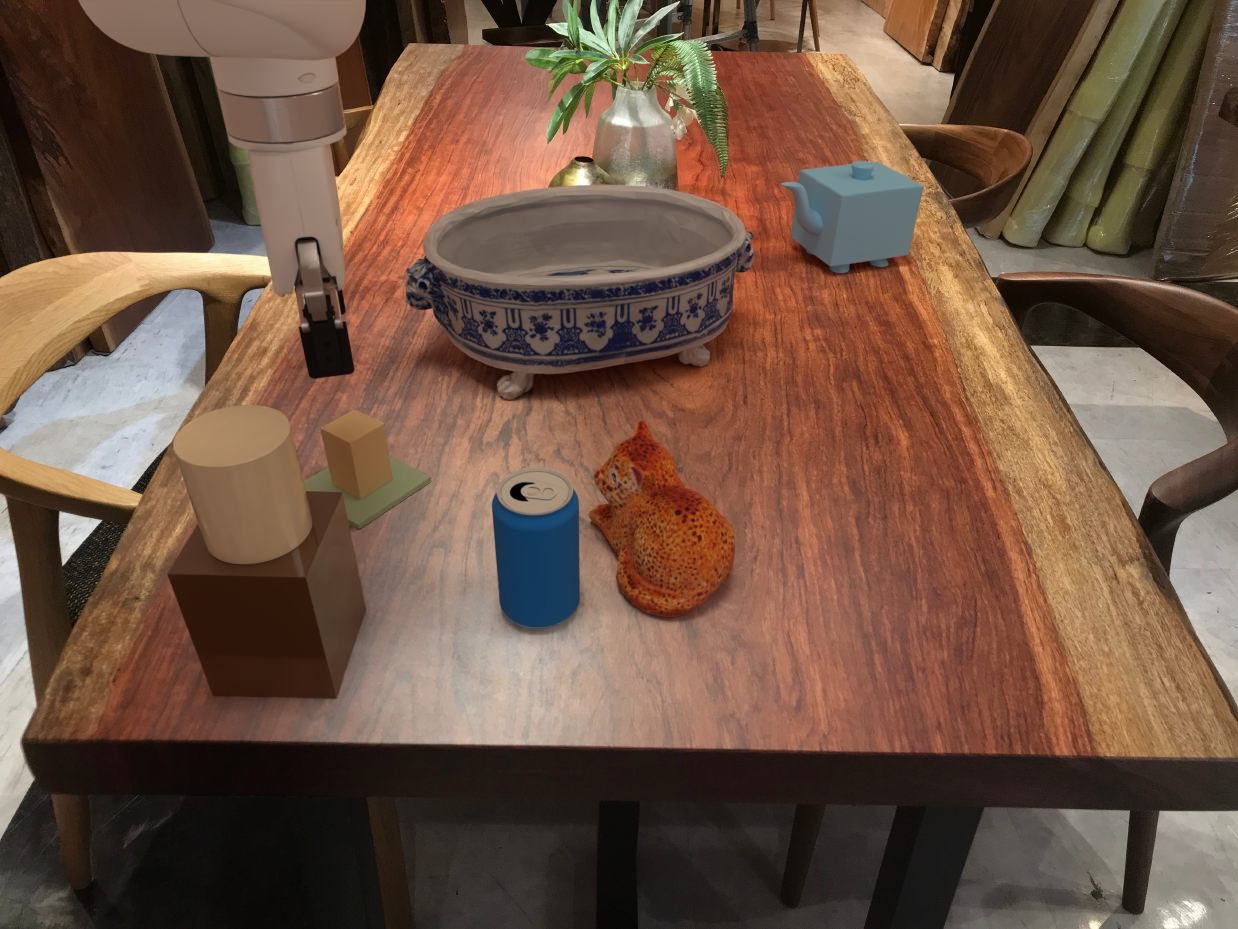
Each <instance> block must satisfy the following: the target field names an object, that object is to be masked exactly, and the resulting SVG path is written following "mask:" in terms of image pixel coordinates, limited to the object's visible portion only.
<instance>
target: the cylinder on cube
mask: <svg viewBox="0 0 1238 929" xmlns="http://www.w3.org/2000/svg"><path fill="white" fill-rule="evenodd" d="M295 442H296V441H295V438H294V434H293V429H292V424H291V422H290V420H289V418H288V417H287V416H286V415H285V414H284V413H283V412H281V411H280V410H278V409H276V408H273V407H269V406H265V405H259V404H239V405H231V406H230V405H229V406H225V407H221V408H218V409H214V410H211V411H208V412H206V413H203V414H201V415H199V416H197V417H194V418H193V419H192V420H190V421H189V422H187V423H186V424H185V425H183V427H181V428H180V429H179V431H178V432H177V433H176V435H175V437H174V439H173V442H172V443H173V444H172V448H173V452H174V454H175V458H176V461H177V464H178V467H179V470H180V474H181V476H182V480H183V483H184V485H185V488H186V491H187V494H188V497H189V500H190V503H191V506H192V509H193V512H194V516H195V519H196V521H197V524H196V526H195V527H194V529H193V530H192V532H191V534H190V536H189V537H188V539H187V541H186V542H185V543H184V545H183V546H182V548H181V550H180V551H179V553H178V555H177V556H176V558H175V560H174V561H173V563H172V565H171V566H170V568H169V569H168V571H167V573H166V575H167V578H168V581H169V584H170V586H171V589H172V592H173V594H174V597H175V599H176V601H177V605H178V608H179V610H180V612H181V615H182V618H183V621H184V623H185V626H186V628H187V631H188V634H189V637H190V640H191V642H192V644H193V646H194V650H195V652H196V655H197V658H198V660H199V663H200V667H201V669H202V671H203V674H204V676H205V679H206V681H207V684H208V687H209V690H210V693H211V694H212V696H235V697H236V696H237V697H271V698H273V697H274V698H275V697H277V698H310V699H312V698H313V699H337V697H338V694H339V691H340V688H341V686H342V682H343V679H344V678H345V674H346V671H347V669H348V668H347V667H348V666H349V662H350V659H351V656H352V653H353V649H354V646H355V644H356V641H357V638H358V635H359V632H360V629H361V626H362V624H363V620H364V617H365V614H366V611H367V606H366V600H365V597H364V596H365V595H364V590H363V585H362V581H361V577H360V572H359V567H358V562H357V557H356V552H355V547H354V542H353V538H352V532H351V526H350V524H349V522H348V517H347V512H346V507H345V502H344V498H343V493H342V492H321V491H306V489H305V485H304V481H305V480H304V476H303V473H302V468H301V464H300V460H299V456H298V452H297V447H296V443H295Z"/></svg>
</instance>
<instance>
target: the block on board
mask: <svg viewBox="0 0 1238 929" xmlns="http://www.w3.org/2000/svg"><path fill="white" fill-rule="evenodd" d="M320 434H321V437H322V442H323V448H324V452H325V457H326V461H327V467H325V468H324V469H322V470H320V471H319V472H317V473H315V474H313V475H311V476H310V477H308V478H306V479H305V480H303V481H304V485H305V489H306V491H321V492H342V493H343V498H344V502H345V507H346V512H347V517H348V522H349V526H351V527H354V528H356V529H357V530H360V529H362V528H363V527H365V526H366V525H367V524H369V523H371V522H372V521H374V520H376V519H377V518H378V517H380V516H381V515H383V514H385V513H386V512H388V511H389V510H390V509H392V508H393V507H395V506H397V505H398V504H399V503H401V502H402V501H404V500H405V499H407V498H409V497H410V496H412V495H414V494H415V493H416V492H418V491H419V490H420V489H422V488H424V487H425V486H427V485H428V484H430V483H431V482H432V476H430V475H428V474H426V473H425V472H422V471H420V470H419V469H417V468H414V467H412V466H411V465H409V464H408V463H405V462H403V461H401V460H399V459H397V458H396V457H393V456H391V455H390V452H389V446H388V440H387V435H386V434H387V433H386V428H385V423H384V422H382V421H380V420H378V419H376V418H373V417H372V416H369V415H367V414H365V413H363V412H362V411H360V410H357V409H356V408H354V409H352V410H351V411H349V412H346V413H345V414H343V415H341V416H340V417H338V418H336V419H334V420H332V421H330V422H329V423H327V424H325V425H323V426H321V427H320Z"/></svg>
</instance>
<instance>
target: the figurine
mask: <svg viewBox="0 0 1238 929" xmlns="http://www.w3.org/2000/svg"><path fill="white" fill-rule="evenodd" d="M636 422H637V423H636V426H635V428H634V429H635V430H634V432H633V435H632V436H631V437H629V438H627V439H625V440H623V441H621V442H618V443H617V445H616V446H615V448H614V449H613V451H612V453H611V454H610V455H609V458H608V459H607V460H606V461H605V462H604V464H603V465H602V466H601V467H600V468H598V469H597V470H596V471H595V472H594V474H593V482H594V484H595V486H596V487H597V489H598V491H599V492H600V494H601V495H602V497H604V499H605V501H606V502H607V503H602V504H598V505H597V506H595V508H593V509H592V510H591V511H590V512H589V513H588V518H589V519H590V521H592V522H593V523H594V524H595V526H597V527H598V529H600V530H601V532H602V534H603V535H604V537H605V538H606V539H607V541H608V543H609V544H610V546H611V548H612V549H613V551H614V553H616V554H617V555H618V558H617V559H618V560H617V567H616V568H617V570H616V575H615V576H616V581H617V585H618V587H619V589H620V591H621V592H622V593H623V595H624V596H625V598H626V599H627V600H628V601H629V603H630V604H631V605H633V606H635V607H636V608H638V609H639V610H641V611H642V612H643V613H646V614H649V615H655V616H659V617H664V618H673V617H674V618H675V617H680V616H683V615H685V614H688V613H689V612H691V611H693V610H695V609H696V608H697V607H699V606H701V604H703V603H705V602H706V600H708V599H709V598H710V597H711V596H712V595H713V594H715V592H716V591H717V590H718V589H719V587H720V586H721V585H722V583H724V581H726V580H727V579H728V578H729V577H730V574H731V572H732V568H733V564H734V559H735V554H736V537H735V530H734V528H733V525H732V524H731V522H729V521H728V519H727V518H725V517H724V515H722V514H721V513H720V512H718V510H717V509H716V507H715V505H714V504H713V503H712V502H710V501H709V500H708V499H707V498H706V497H704V496H703V495H702V494H701V493H699V492H697V491H696V490H694V489H691V488H688V487H686V486H685V484H684V483H683V481H682V480H681V478H680V476H679V473H678V468H677V465H676V463H675V460H674V458H673V456H672V454H671V453H670V452H669V451H668V450H667V449H666V447H664V446H663V445H662V444H660V443H659V442H658V441H656V440H655V439H654V436H653V435H652V433H651V431H650V430H651V429H650V428H649V426H648V424H647V422H646V421H644V420H639V421H636Z"/></svg>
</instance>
